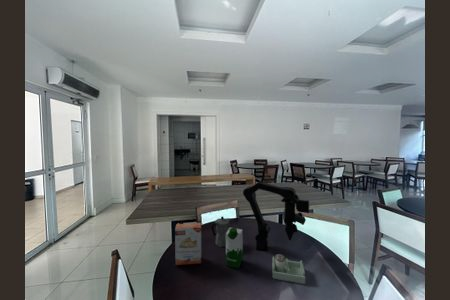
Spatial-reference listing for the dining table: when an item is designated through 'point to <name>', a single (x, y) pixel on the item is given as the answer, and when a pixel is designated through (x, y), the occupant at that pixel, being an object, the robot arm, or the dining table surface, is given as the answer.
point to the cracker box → (188, 243)
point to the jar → (280, 263)
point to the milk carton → (234, 247)
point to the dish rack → (290, 271)
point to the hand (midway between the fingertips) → (289, 235)
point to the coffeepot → (221, 231)
